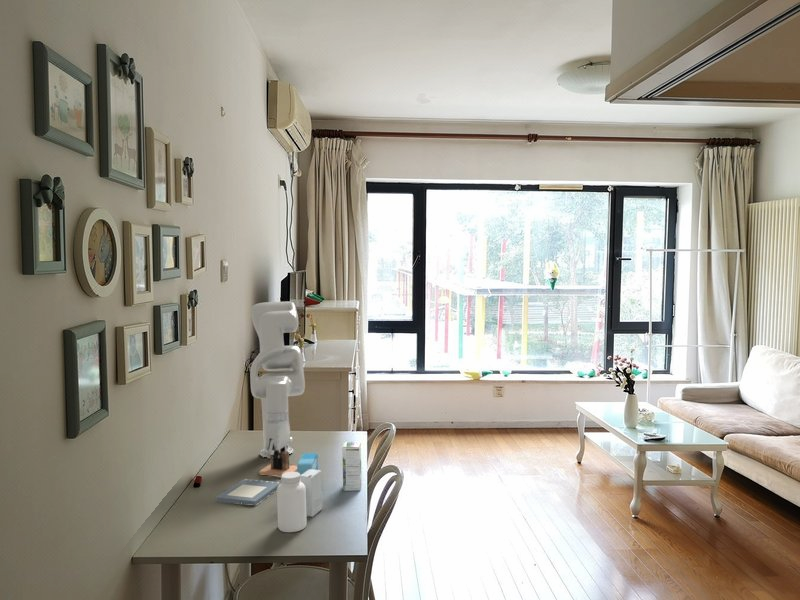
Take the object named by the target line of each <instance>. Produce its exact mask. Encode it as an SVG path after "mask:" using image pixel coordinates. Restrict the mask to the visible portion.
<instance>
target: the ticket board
mask: <svg viewBox="0 0 800 600" xmlns="http://www.w3.org/2000/svg"><path fill="white" fill-rule="evenodd" d="M280 484H281V481H273V480H272V481H271V480H264V479H263V480H262V479H251V478H243V479H242V480H240V481H239V482H237V483H236V484H234V485H232V486H231V487H230V488H228V489H226V490H225V491H223V492H222V493H220V494H218V495H217V496H216V497H215V499H216V502H217V503H223V504H233V503H239V504H238V505H242V504H253V505H256V504H257V503H259V502H260V501H261V500H263V499H264V498H266V497H267V496H268V495H270V494H271V493H272V492H274V491H275V490H277V487H278V486H279V485H280ZM275 492H276V491H275ZM275 492H274V493H275ZM271 495H272V494H271ZM271 495H270V496H271ZM267 498H268V497H267ZM267 498H266V499H267ZM263 501H264V500H263ZM241 503H242V504H241ZM259 504H260V503H259Z"/></svg>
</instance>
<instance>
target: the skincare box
mask: <svg viewBox="0 0 800 600" xmlns="http://www.w3.org/2000/svg"><path fill="white" fill-rule="evenodd" d="M300 477H301V479H300V480H301V481H300V482H302V483H303V484H304V485H305V488H306V517H308V516H310V517H309V518H311V517H312V518H314V516H316V515H317V514H318V513H319V512H320V511H322V509H323V485H322V482H323V481H322V480H323V479H322V477H323V475H322V470H321V469H318V470H314V469H309V470H308V471H306V472H305V473H303V474H302V475H300Z"/></svg>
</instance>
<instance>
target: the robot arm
mask: <svg viewBox="0 0 800 600" xmlns="http://www.w3.org/2000/svg"><path fill="white" fill-rule="evenodd" d="M250 315H251V316H250V317H251V321H252V325H253V327H254V330H255V332H256V334H257V336H258V341H259V353H258V355H257V356H256V357H255V358H254V359H253V361H252V364H251V367H250V371H249V374H250V376H249V378H250V379H249V380H250V392H251V395H252V397H254V398H256V399H260V402H261V417H262V436H263V437H262V438H263V448H262V449H261V450H260V451H259V456H260V455H261V456H262V458H264V457H267V458H266V459H270V455H272V458H273V468H274V469H282V458H280V457H281V451H289V454H291V453H292V454H293V453H294V448H293V447H291V446H290V444H291V443H292V442H294V438H293V437H292V436H291V425H290V420H289V419H290V417H289V416H290V413H289V412H290V411H289V397H295V396H296V397H297V396H301V395H303V394H304V392H305V389H306V382H305V381H306V380H305V371H304V369H305V368H304V362H303V354H302V353H303V352H302V351H301V348H300V347H299V346H297V345H285V341H284V334H285V333H287V334H288V333H295V332H297V331H298V329H299V324H300V323H299V322H300V321H299V315H298V311H297V306H296V305H295V303H294V302H293V301H290V300H289V301H288V300H287V301H267V302H266V301H265V302H258V303H255V304H253V306H252V307H251V310H250ZM261 367H262V369H263V370H264V371H268V372H267V373H264V374H262V375H261V376H260V377H259V370H260V368H261ZM275 451H277V452H275ZM292 454H291V455H292ZM261 456H260V457H261Z"/></svg>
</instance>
